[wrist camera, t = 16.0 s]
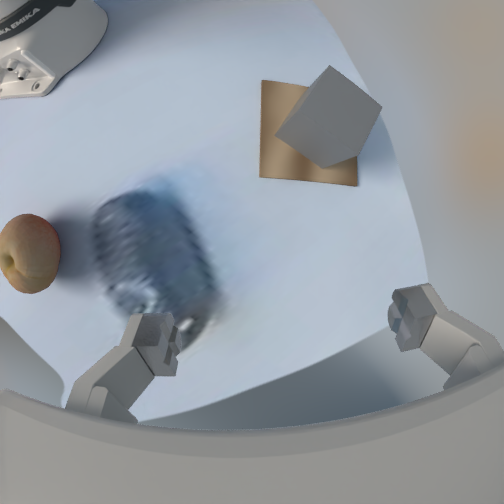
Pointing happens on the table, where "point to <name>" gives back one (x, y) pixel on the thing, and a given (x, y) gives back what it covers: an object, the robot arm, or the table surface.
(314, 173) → the cork mat
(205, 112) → the table surface
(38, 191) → the table surface
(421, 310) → the robot arm
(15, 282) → the fruit
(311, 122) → the plain grey cube
